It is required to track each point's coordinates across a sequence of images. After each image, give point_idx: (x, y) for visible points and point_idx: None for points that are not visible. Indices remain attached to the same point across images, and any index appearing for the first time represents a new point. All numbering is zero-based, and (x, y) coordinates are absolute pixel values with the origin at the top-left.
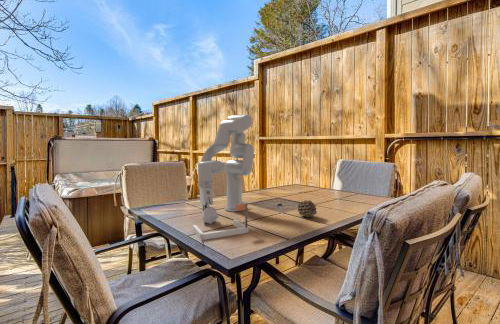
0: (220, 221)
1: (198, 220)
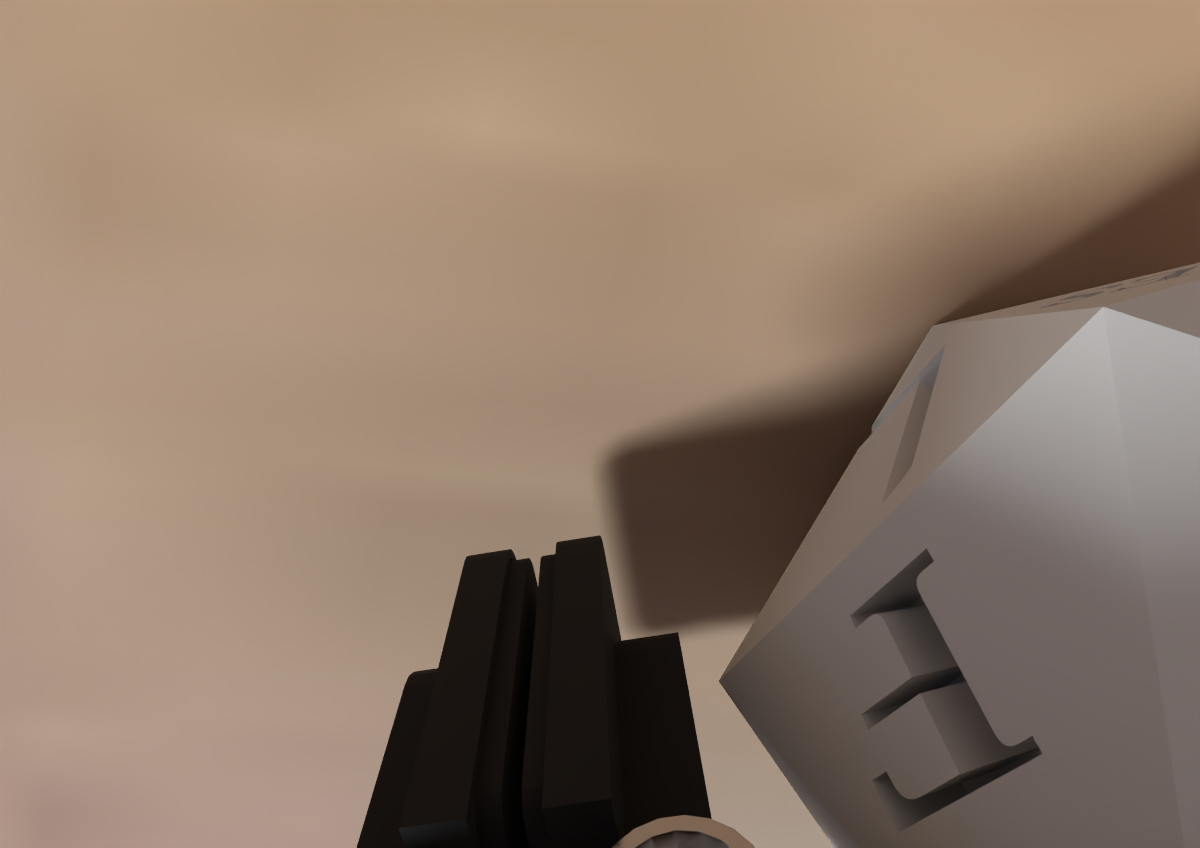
0: (1099, 23)
1: None
